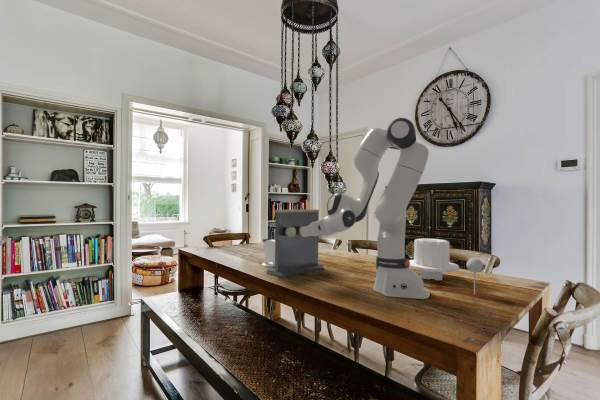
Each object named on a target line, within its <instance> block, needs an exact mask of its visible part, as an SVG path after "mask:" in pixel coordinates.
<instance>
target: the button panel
mask: <svg viewBox="0 0 600 400" xmlns="http://www.w3.org/2000/svg"><path fill="white" fill-rule="evenodd" d="M319 212H320V210H319V209H275V221H274V223H275V225H274V226H275V229H274V230H275V231H274V232H275V234H274V235H275V236H274V237H275V238H274V240H275V267H273V268H268V269H266V274H267V275H271V276H276V277H278V278H287V277H291V276H295V275H299V274H304V273H308V272H312V271H316V270H317V271H318V270H320V269H321V270H322V269H324V263H323V264H322V263H319V236H315V237H314V236H309V237H302V235H300V234H299V228H300V227H301V226H308V225H310V223H312V222H315V221H318V220H319V219H320V218H319V217H320V216H319ZM288 227H293V228H295V229H296V235H295V236H294V237H288V236H286V234H285V231H286V228H288Z"/></svg>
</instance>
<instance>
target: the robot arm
mask: <svg viewBox="0 0 600 400" xmlns="http://www.w3.org/2000/svg"><path fill="white" fill-rule="evenodd" d="M414 125H415V124H414V123H413V122H412V120H410V119H408V118H405V117H397V118H395V119H394V120H392V121H391V122H390V123H389V124H388V126H387V129H382V128H381V127H375V128H371V129H369V131H368V132H367V134H366V135H365V136H364V137H363V139H362V140H361V142H360V144H359V145H358V147H357V149H356V151H355V153H354V156H353V164H354V166H355V169H357V171H358V172H359V174H360V176H361V177H362V179H363V186H361V187H362V188H361V189H360V191H359V192H360V193H359V195H358V198H357V199H355V198H353V197H351V196H349V195H347V194H346V193H343V192H340V191H338V192H335V193H333V194H332V195H331V196H330V197H329V199H328V200H327V204H326V209H327V216H324V217H322V218H319V220H318V221H315V222H312V223H310V225H308V226H306V227H304V228H303V229H301V235H302V237H309V236H314V237H315V236H318V237H320V236H322V237H324V236H325V237H326V236H327V237H329V236H333V235H335V234H337V233H343V232H346V231H347V230H349V229H351V228H352V227H353V226H354V225H355V224H356V223H358V222H361V221H363V220H364V218H365V217H366V215H367V213H368V208H369V204H370V201H371V199H372V197H373V194H374V191H375V189H376V186H377V184H378V183H377V182H378V181H379V176H380V173H379V165H380V161H381V159H382V158H383V155H384V154H385V152H386V151H387V150H388V149H393V150H399V151H400V154H399V157H398V161H397V163H396V165H395V167H394V170H393V172H392V174H391V177H390V179H389V181H388V184H387V185H386V187H385V188H384V191H383V192H382V195H381V196H380V198H379V201H378V202H377V204H376V206H375V208H374V214H375V218H376V219H377V221H378V222H379V227H378V236H377V252H376V253H377V256H376V259H375V268H376V269H375V270H376V275H375V281H374V285H373V288H372V289H373V291H374V292H376V293H379V294H381V295H383V296H385V297H391V298H392V297H393V298H402V299H403V298H406V299H415V300H416V299H419V300H426V299H429V298H430V295H431V292H430V290H429V289H427V288H425V284H424V279H422V278H421V277H420V274H418V273H417V272H415V271H414V269H413V268H410V267H409V266H410V261H409V260H410V259H407V258H406V257H405V239H406V238H405V237H406V228H407V227H406V225H407V208H408V206H409V203H410V201H411V199H412V197H413V195H414V193H415V192H416V189H417V188H418V185H419V183H420V180H421V179H422V176H423V173H424V171H425V168H426V165H427V162H428V159H429V153H430V152H429V148H428V147H427V146H426V145H425V144H422V143H420V142H418V141H417V136H416V135H417V132H416V131H417V130H416V128H415V126H414Z"/></svg>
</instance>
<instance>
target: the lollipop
mask: <svg viewBox="0 0 600 400" xmlns="http://www.w3.org/2000/svg"><path fill="white" fill-rule="evenodd" d="M466 268H467V269H468V270H469V271H470V272H472V273H473V295H474V294H475V295H476V273H479V272H481V271H482V270H483V268H484V264H483V262H482V261H481V260H480V259H479V258H476V257H471V258H469V259H468V260H467V261H466Z"/></svg>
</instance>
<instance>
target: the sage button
mask: <svg viewBox="0 0 600 400" xmlns="http://www.w3.org/2000/svg"><path fill="white" fill-rule="evenodd" d="M285 234H286V236H288V237H294V236H295V235H296V229H295V228H293V227H288V228H286V231H285Z"/></svg>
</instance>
